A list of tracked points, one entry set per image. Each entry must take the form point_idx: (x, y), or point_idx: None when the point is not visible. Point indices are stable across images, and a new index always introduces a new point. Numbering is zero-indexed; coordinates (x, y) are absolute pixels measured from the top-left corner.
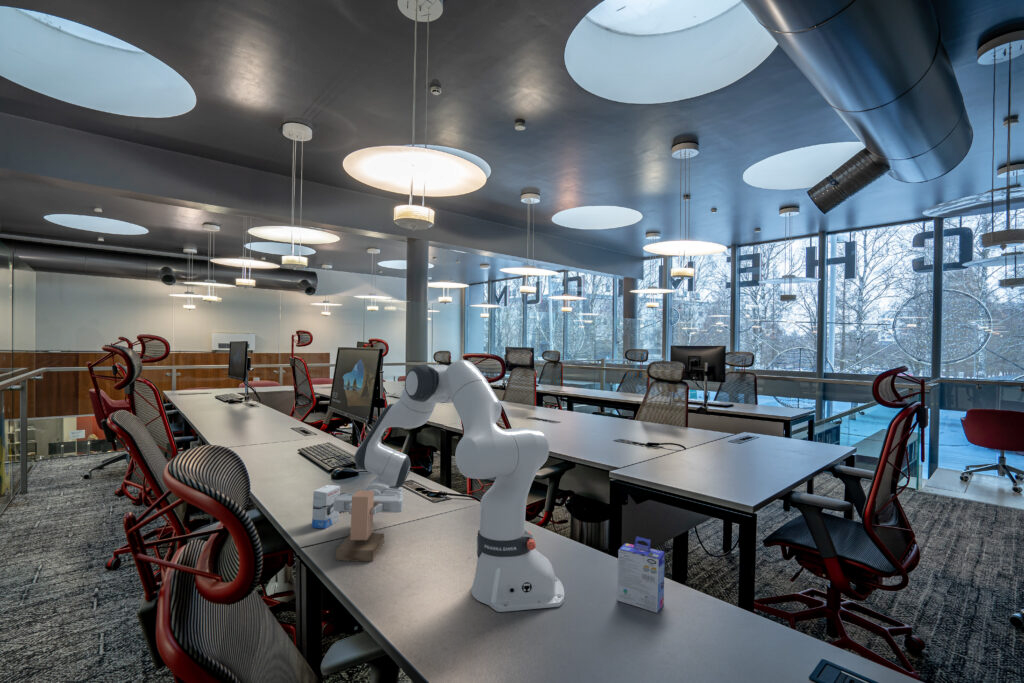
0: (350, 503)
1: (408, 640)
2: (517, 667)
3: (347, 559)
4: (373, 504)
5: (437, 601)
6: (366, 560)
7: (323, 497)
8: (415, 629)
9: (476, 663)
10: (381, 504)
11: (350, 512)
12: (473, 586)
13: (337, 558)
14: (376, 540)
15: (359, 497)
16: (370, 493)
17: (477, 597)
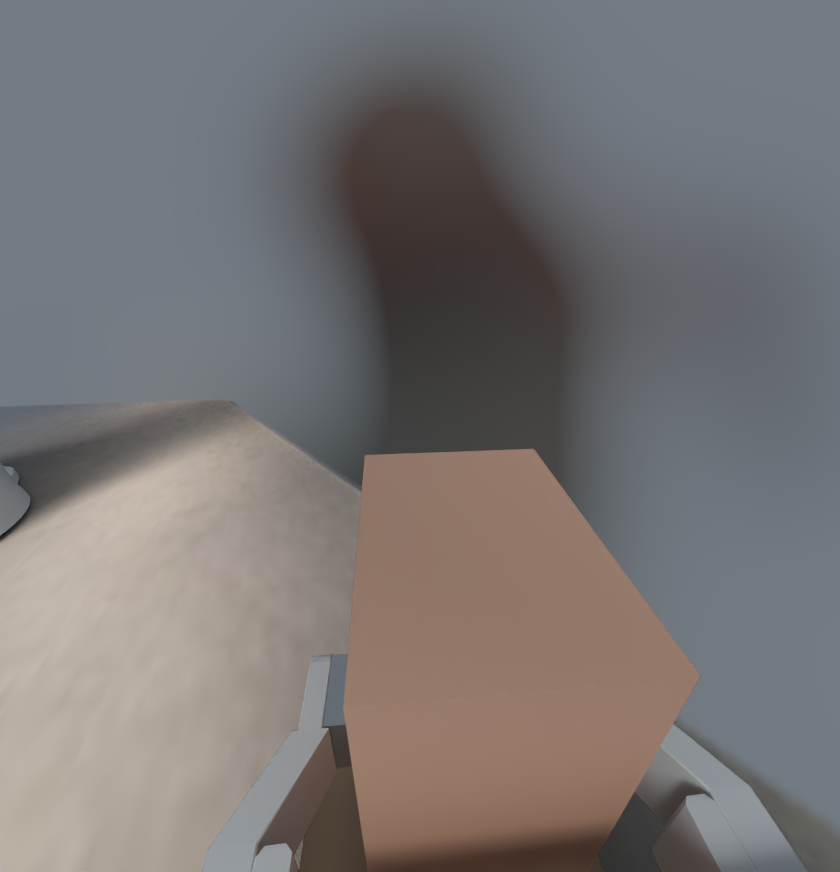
0: (759, 818)
1: (233, 426)
2: (97, 408)
3: None
4: (363, 842)
5: (138, 494)
6: None
7: None
8: (216, 439)
9: (149, 409)
10: (217, 845)
11: None
12: (5, 503)
13: None
14: (328, 864)
15: (455, 458)
16: (370, 543)
17: (25, 494)
